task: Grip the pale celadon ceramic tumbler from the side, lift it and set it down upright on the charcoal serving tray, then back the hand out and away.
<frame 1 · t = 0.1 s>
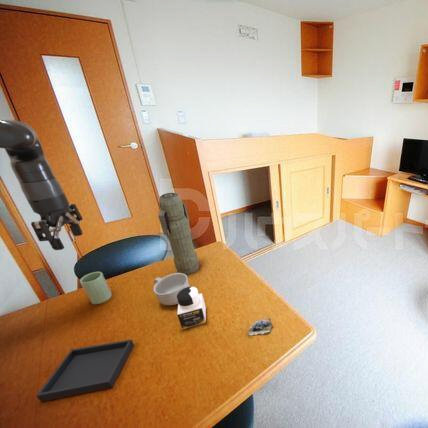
hand: (69, 242, 75), 26 cm above the table, tool pointing down, fingers open, 8 cm apart
teacup: (173, 297, 90), on the table
tray: (92, 370, 65), on the table
medicine bottle: (194, 318, 82), on the table
celadon cup: (101, 298, 89), on the table
blueberries: (260, 329, 78), on the table
thermos: (188, 269, 105), on the table
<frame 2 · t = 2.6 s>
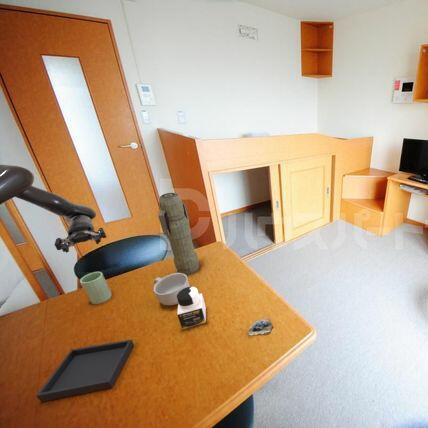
hand: (82, 245, 89), 18 cm above the table, tool horizontal, fingers open, 8 cm apart
nothing on the table moved.
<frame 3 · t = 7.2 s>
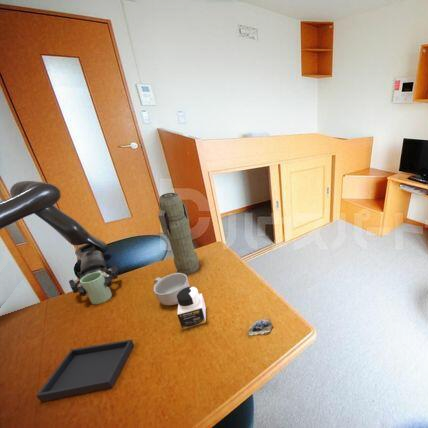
hand: (96, 289, 85), 6 cm above the table, tool horizontal, fingers closed on celadon cup, 6 cm apart
celadon cup: (101, 298, 89), on the table, touching gripper
everything else where it was.
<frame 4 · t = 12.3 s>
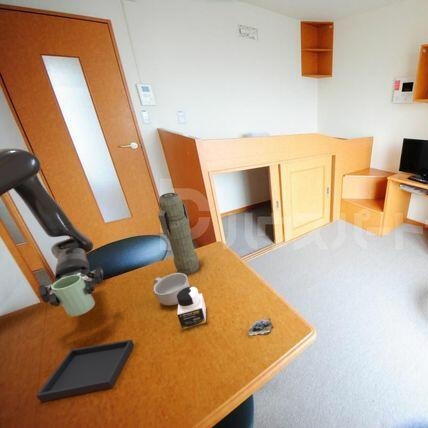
hand: (73, 297, 66), 18 cm above the table, tool horizontal, fingers closed on celadon cup, 6 cm apart
celadon cup: (81, 308, 70), point 12 cm above the table, touching gripper
everything else where it was.
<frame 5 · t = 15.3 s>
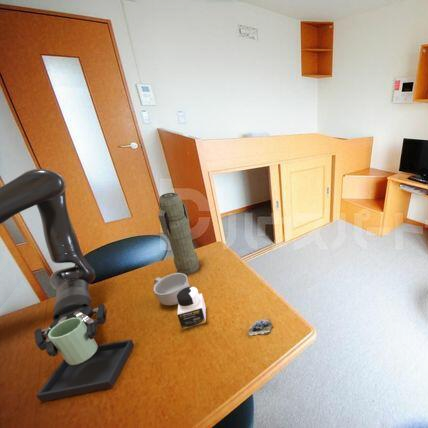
hand: (73, 344, 58), 13 cm above the table, tool horizontal, fingers closed on celadon cup, 6 cm apart
celadon cup: (82, 353, 62), point 7 cm above the table, touching gripper
everything else where it was.
when the fingers open (7 cm above the table, at t = 17.6 s): celadon cup stays where it is, resting on tray.
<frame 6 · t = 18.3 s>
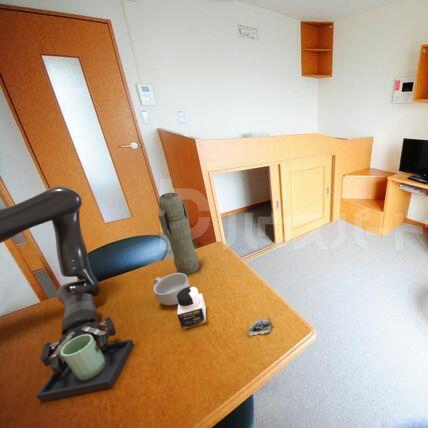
hand: (81, 358, 61), 7 cm above the table, tool horizontal, fingers open, 8 cm apart
celadon cup: (92, 368, 65), point 1 cm above the table, touching tray
everything else where it was.
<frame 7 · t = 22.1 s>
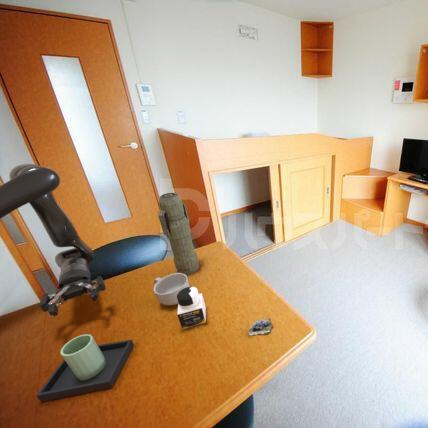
hand: (74, 305, 70), 12 cm above the table, tool horizontal, fingers open, 8 cm apart
nothing on the table moved.
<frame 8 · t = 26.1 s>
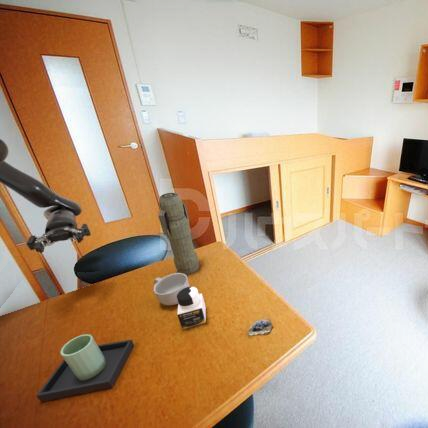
hand: (59, 245, 75), 26 cm above the table, tool horizontal, fingers open, 8 cm apart
nothing on the table moved.
at the end: celadon cup inside the target area in the tray (0.1 cm from its centre), point 0.6 cm above the tray's base; celadon cup tilted 0°; the gripper is holding nothing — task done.
